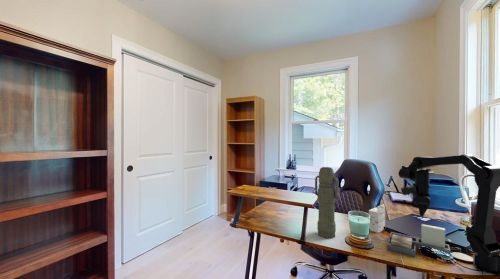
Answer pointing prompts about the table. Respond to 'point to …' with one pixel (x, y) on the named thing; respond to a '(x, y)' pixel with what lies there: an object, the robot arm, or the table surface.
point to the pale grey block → (433, 235)
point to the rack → (415, 245)
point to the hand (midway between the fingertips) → (421, 213)
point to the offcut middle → (401, 244)
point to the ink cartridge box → (377, 218)
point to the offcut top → (402, 239)
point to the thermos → (326, 202)
